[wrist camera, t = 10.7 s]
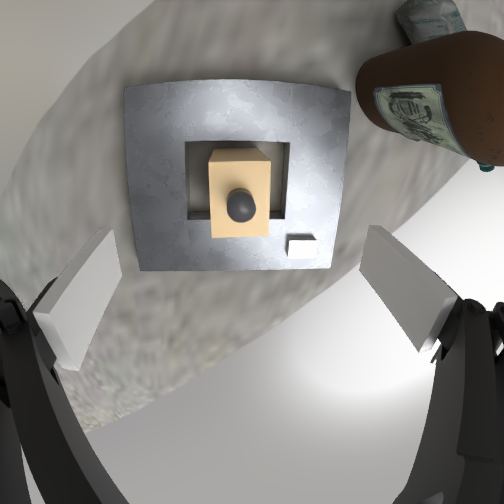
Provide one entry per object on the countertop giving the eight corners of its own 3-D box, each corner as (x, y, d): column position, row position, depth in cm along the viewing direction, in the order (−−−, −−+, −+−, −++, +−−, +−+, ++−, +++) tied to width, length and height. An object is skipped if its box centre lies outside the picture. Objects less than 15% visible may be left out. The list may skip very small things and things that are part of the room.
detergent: (372, 5, 19) (443, 182, 30) (407, -13, 13) (481, 196, 24) (432, 1, 18) (487, 151, 29) (465, -9, 12) (520, 160, 23)
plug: (215, 203, 30) (210, 249, 20) (213, 148, 27) (206, 167, 17) (256, 202, 30) (272, 247, 20) (257, 147, 27) (275, 166, 18)
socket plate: (145, 260, 32) (138, 275, 29) (132, 89, 23) (120, 86, 20) (323, 257, 34) (332, 272, 31) (341, 93, 25) (355, 91, 22)
